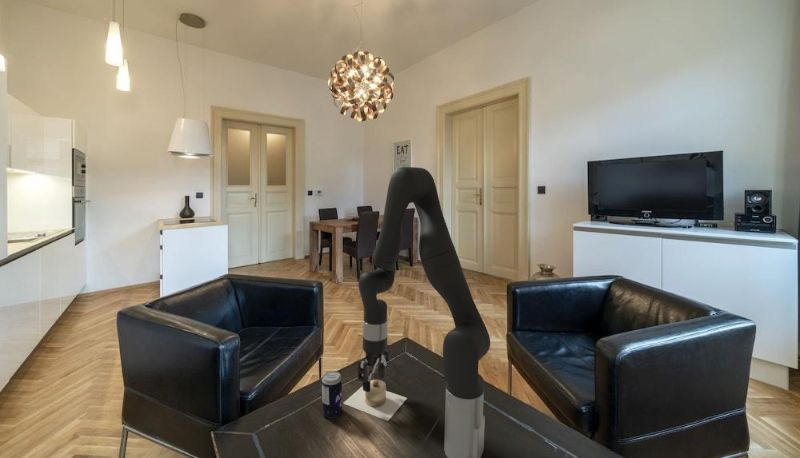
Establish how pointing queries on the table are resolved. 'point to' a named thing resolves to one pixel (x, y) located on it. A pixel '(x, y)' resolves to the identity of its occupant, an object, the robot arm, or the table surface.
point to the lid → (376, 394)
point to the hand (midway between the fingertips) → (374, 383)
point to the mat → (382, 412)
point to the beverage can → (332, 394)
